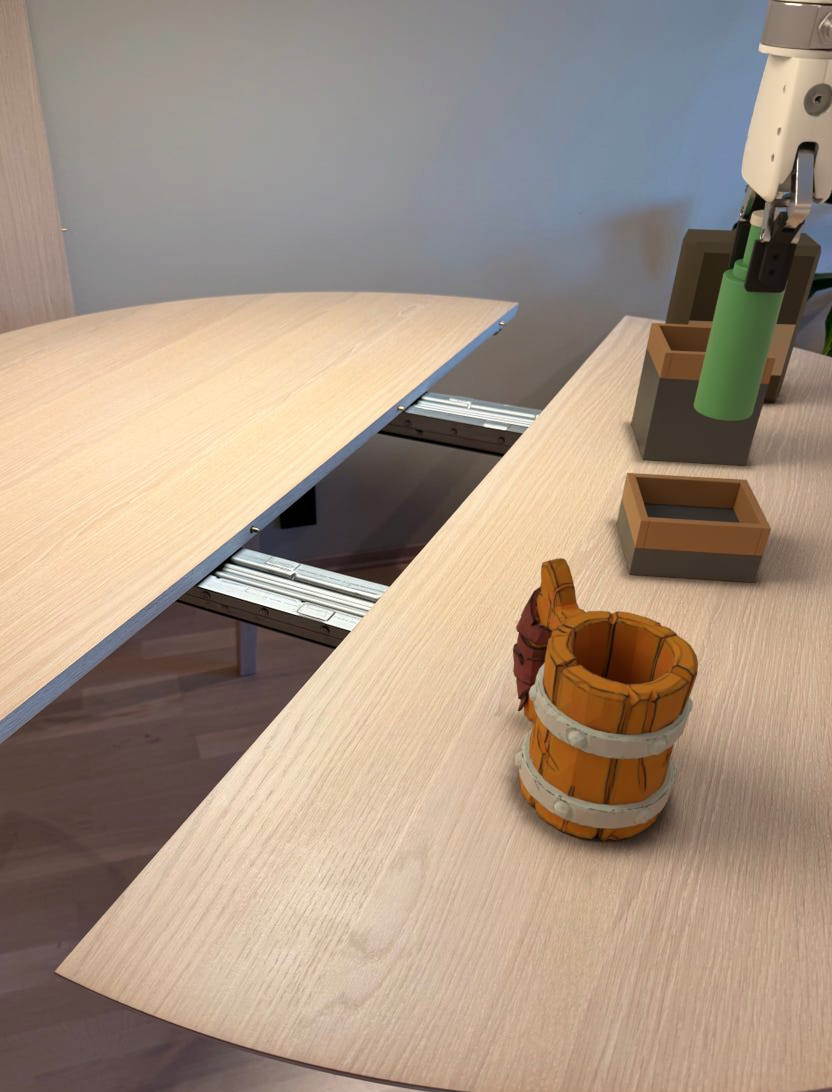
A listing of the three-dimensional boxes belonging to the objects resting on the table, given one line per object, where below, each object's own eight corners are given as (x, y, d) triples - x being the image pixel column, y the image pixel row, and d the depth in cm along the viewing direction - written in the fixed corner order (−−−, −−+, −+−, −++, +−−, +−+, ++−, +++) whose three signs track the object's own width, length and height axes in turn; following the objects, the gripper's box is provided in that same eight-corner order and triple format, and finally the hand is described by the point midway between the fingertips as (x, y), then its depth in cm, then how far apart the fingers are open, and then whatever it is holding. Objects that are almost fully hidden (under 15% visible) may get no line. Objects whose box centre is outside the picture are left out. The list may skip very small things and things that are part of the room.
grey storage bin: (727, 430, 123) (754, 327, 116) (745, 465, 115) (776, 358, 108) (630, 424, 124) (651, 322, 116) (642, 459, 116) (665, 352, 108)
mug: (572, 867, 66) (611, 695, 57) (455, 718, 78) (472, 557, 69) (700, 821, 69) (756, 652, 61) (570, 686, 81) (600, 528, 73)
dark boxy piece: (649, 377, 137) (690, 184, 122) (765, 382, 137) (820, 188, 122) (661, 399, 131) (705, 199, 116) (782, 405, 130) (842, 204, 115)
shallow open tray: (732, 531, 103) (746, 479, 99) (754, 582, 95) (771, 528, 91) (616, 523, 104) (626, 472, 100) (629, 574, 96) (640, 520, 92)
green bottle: (745, 399, 93) (794, 207, 82) (758, 422, 88) (812, 223, 78) (688, 396, 93) (731, 205, 83) (699, 419, 89) (745, 221, 79)
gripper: (910, 44, 66) (829, 315, 77) (833, 20, 79) (774, 253, 90) (795, 42, 66) (731, 311, 77) (738, 19, 80) (691, 251, 91)
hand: (755, 277), depth 84 cm, fingers closed on green bottle, 5 cm apart
